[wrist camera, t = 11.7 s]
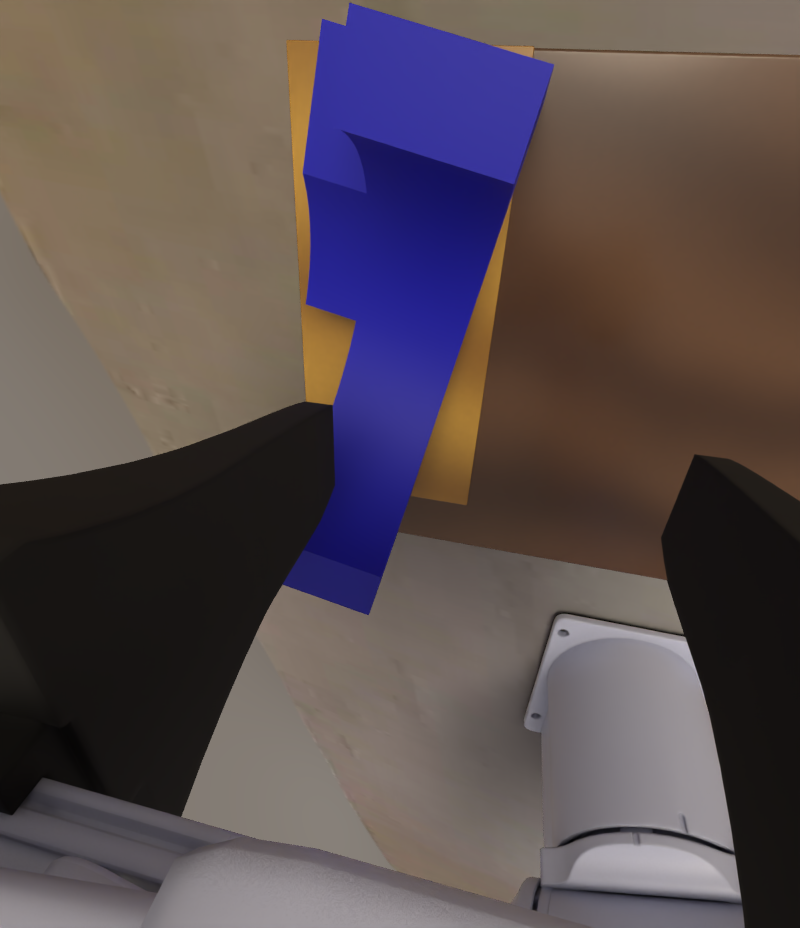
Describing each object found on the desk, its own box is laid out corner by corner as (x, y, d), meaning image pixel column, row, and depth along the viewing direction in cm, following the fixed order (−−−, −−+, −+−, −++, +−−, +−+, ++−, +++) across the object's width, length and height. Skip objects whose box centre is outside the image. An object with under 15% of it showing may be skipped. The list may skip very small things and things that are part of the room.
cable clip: (364, 45, 12) (250, -28, 7) (544, 100, 12) (554, 65, 7) (297, 451, 19) (212, 559, 14) (412, 491, 19) (368, 615, 14)
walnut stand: (736, 535, 21) (772, 603, 18) (341, 471, 24) (312, 520, 20) (971, 83, 13) (1113, 61, 10) (335, 62, 16) (285, 39, 12)
